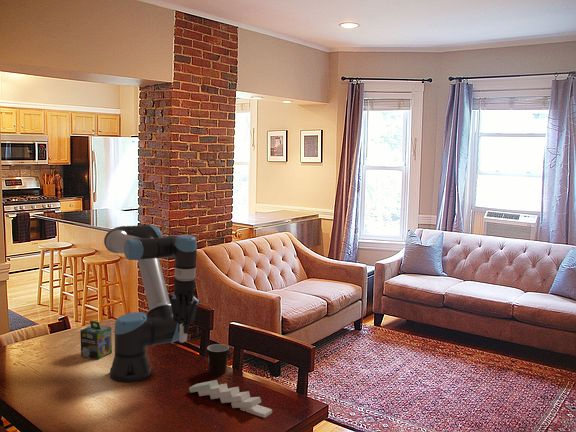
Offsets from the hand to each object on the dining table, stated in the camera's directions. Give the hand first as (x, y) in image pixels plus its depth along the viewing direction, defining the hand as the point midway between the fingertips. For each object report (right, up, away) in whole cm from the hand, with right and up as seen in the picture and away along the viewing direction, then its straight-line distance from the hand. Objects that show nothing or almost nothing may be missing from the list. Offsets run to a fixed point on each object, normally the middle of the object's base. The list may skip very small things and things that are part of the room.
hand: (183, 341), depth 194 cm
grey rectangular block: (+23, -20, -13) cm, 33 cm away
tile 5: (+21, -19, -12) cm, 30 cm away
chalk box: (-43, -13, +30) cm, 54 cm away
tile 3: (+12, -18, -6) cm, 22 cm away
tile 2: (+8, -17, -3) cm, 19 cm away
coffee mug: (+11, -16, +18) cm, 26 cm away
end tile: (+4, -17, -1) cm, 17 cm away
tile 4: (+16, -18, -8) cm, 26 cm away
